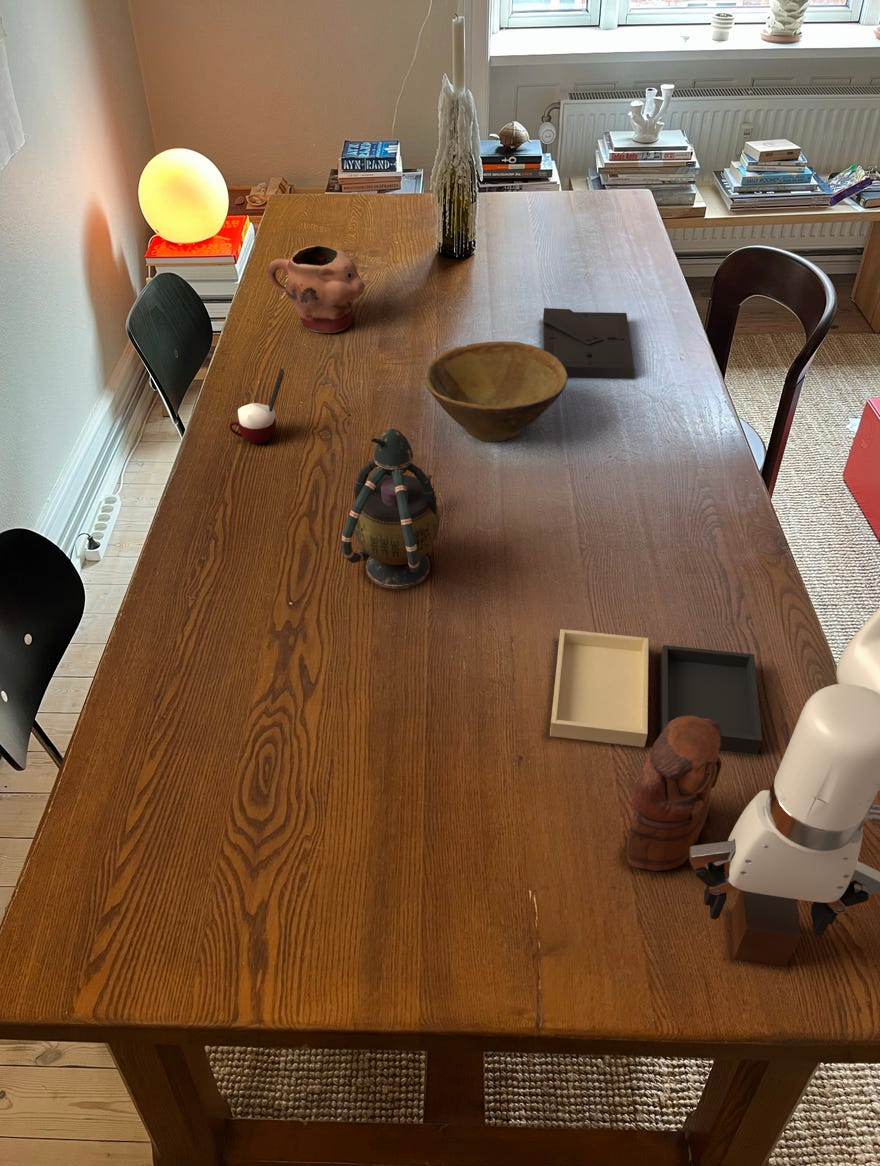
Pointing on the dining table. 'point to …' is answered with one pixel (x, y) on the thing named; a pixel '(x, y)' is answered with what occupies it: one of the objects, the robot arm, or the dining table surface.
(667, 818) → the wooden figurine
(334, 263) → the sculpted clay mug
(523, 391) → the bowl
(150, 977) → the dining table surface
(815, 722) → the robot arm
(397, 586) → the green octopus jar
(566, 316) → the dark brown flat slab
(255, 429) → the cocoa
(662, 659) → the dark tray
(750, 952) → the walnut block
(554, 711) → the pale tray
